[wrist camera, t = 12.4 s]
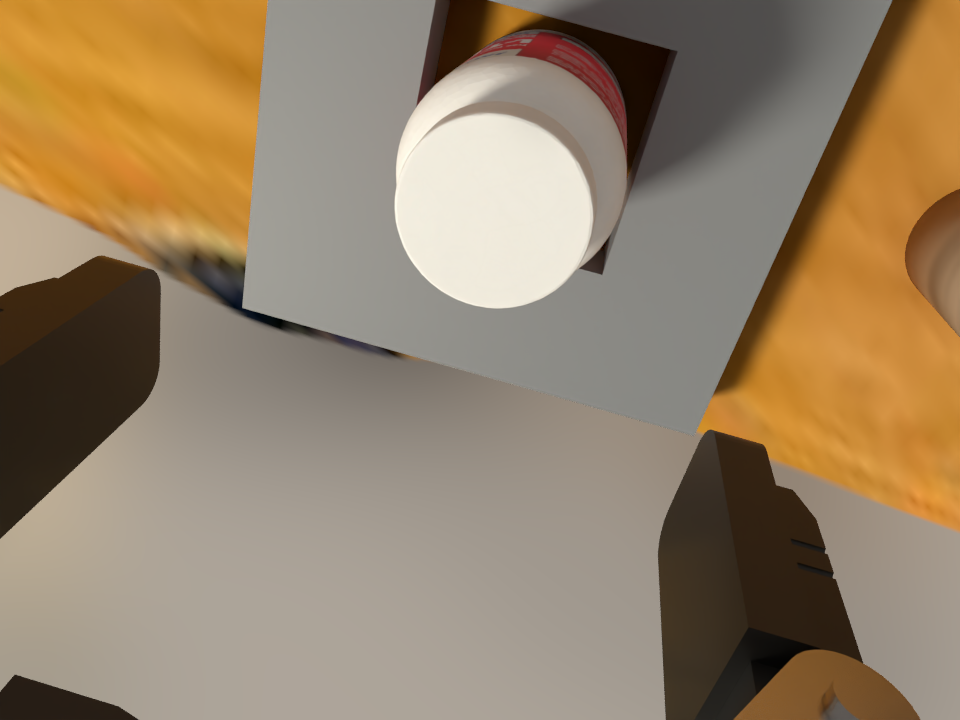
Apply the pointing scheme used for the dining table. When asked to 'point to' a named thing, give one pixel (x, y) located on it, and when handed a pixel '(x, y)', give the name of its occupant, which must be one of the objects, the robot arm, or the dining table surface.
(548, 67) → the pill bottle
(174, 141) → the dining table surface
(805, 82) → the hole plate
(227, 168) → the dining table surface
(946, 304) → the walnut stub
